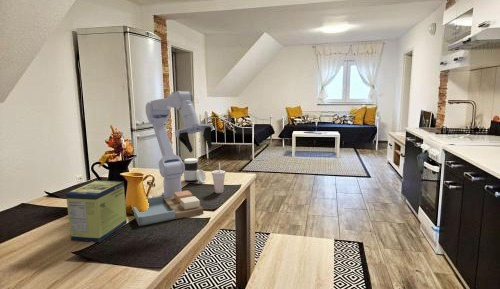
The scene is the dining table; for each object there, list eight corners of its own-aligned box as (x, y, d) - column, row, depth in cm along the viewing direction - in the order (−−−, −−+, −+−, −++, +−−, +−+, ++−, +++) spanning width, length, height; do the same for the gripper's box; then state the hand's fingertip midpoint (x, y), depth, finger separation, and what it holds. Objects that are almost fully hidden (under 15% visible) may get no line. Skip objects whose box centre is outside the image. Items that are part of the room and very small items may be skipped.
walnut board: (163, 202, 133) (163, 198, 132) (187, 198, 137) (187, 194, 137) (176, 218, 115) (175, 213, 115) (203, 213, 120) (203, 208, 120)
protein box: (127, 223, 112) (124, 180, 110) (99, 243, 97) (95, 194, 94) (101, 221, 114) (97, 179, 111) (69, 241, 99) (64, 193, 96)
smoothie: (223, 194, 143) (223, 164, 140) (210, 193, 144) (209, 163, 142) (227, 190, 149) (226, 161, 147) (214, 189, 150) (213, 160, 148)
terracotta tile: (174, 198, 132) (174, 192, 132) (188, 195, 135) (188, 190, 134) (178, 202, 127) (177, 196, 126) (192, 199, 130) (192, 194, 129)
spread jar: (185, 179, 170) (184, 157, 168) (206, 178, 171) (205, 157, 169) (182, 185, 158) (181, 162, 156) (205, 184, 159) (204, 161, 158)
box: (130, 208, 127) (130, 201, 126) (163, 202, 133) (162, 195, 132) (139, 226, 109) (138, 217, 109) (175, 218, 115) (175, 211, 115)
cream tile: (180, 204, 124) (180, 198, 124) (194, 202, 127) (194, 196, 127) (184, 209, 119) (184, 203, 119) (199, 206, 122) (199, 200, 121)
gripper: (172, 115, 115) (184, 148, 111) (209, 110, 122) (221, 140, 118) (170, 125, 121) (181, 156, 117) (205, 119, 128) (216, 148, 124)
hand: (201, 149), depth 118 cm, fingers open, 7 cm apart
